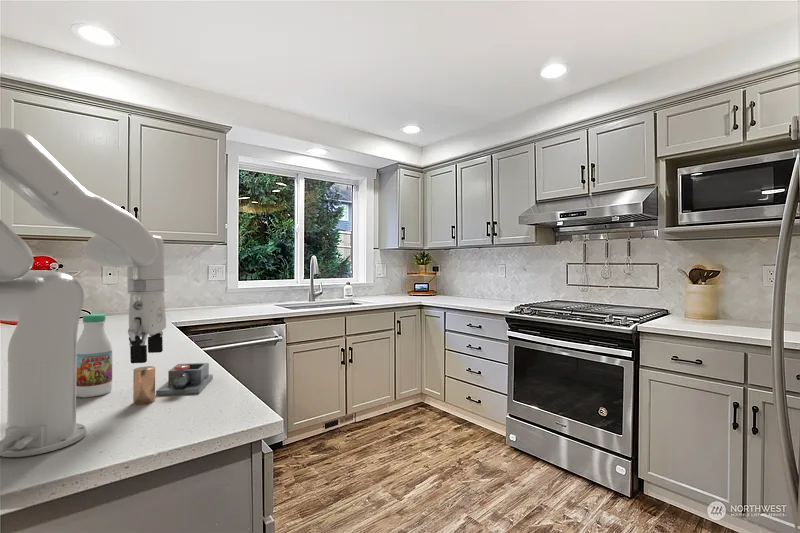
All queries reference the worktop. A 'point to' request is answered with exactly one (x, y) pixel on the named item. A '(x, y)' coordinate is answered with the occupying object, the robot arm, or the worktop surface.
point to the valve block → (186, 379)
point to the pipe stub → (144, 385)
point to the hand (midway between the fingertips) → (147, 357)
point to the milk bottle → (94, 358)
